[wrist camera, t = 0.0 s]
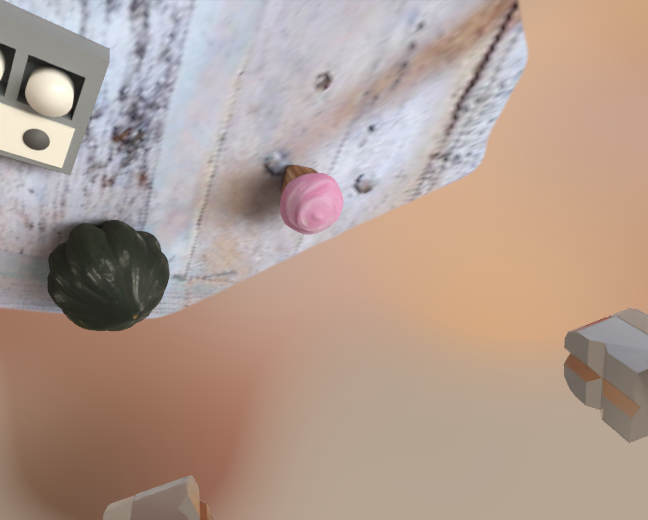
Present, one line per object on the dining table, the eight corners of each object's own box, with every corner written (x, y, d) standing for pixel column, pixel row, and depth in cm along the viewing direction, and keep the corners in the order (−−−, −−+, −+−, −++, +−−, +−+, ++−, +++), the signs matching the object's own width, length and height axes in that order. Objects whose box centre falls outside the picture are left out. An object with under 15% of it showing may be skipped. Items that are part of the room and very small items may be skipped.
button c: (34, 58, 45) (30, 69, 43) (79, 76, 48) (78, 87, 45) (24, 94, 47) (20, 107, 45) (68, 110, 49) (66, 123, 47)
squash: (7, 296, 59) (89, 375, 57) (45, 203, 53) (138, 287, 51) (96, 270, 72) (165, 333, 70) (134, 192, 66) (211, 259, 64)
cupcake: (273, 150, 64) (294, 189, 57) (332, 152, 67) (357, 190, 60) (265, 204, 69) (282, 246, 62) (319, 204, 72) (341, 244, 66)
